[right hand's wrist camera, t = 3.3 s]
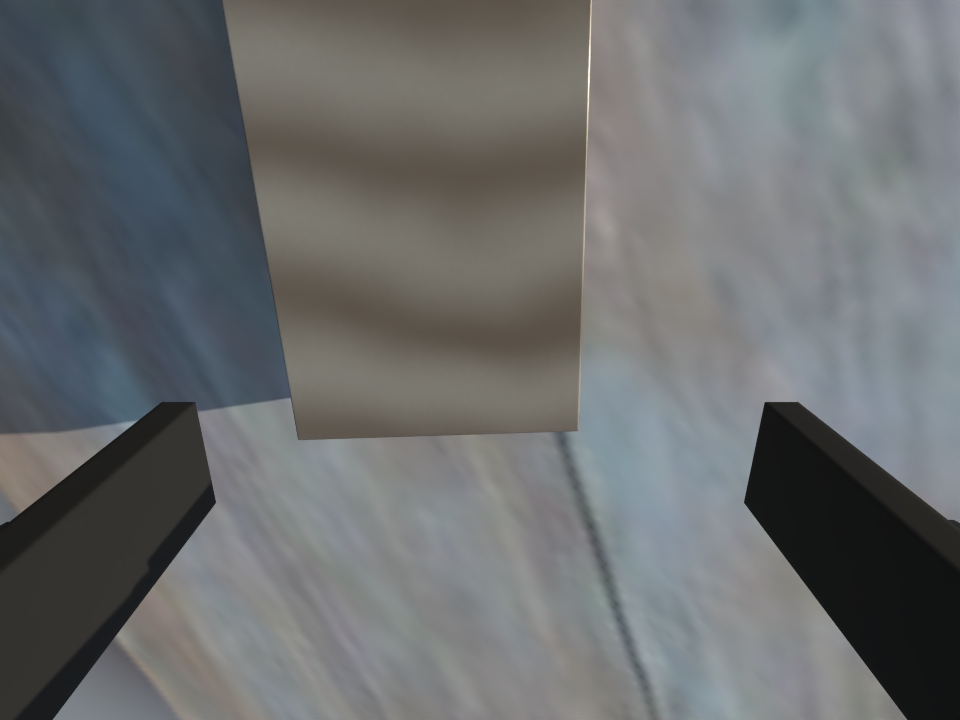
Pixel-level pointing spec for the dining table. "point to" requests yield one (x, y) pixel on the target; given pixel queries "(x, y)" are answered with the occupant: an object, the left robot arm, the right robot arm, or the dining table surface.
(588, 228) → the dining table surface
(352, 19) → the cabinet
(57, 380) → the dining table surface
